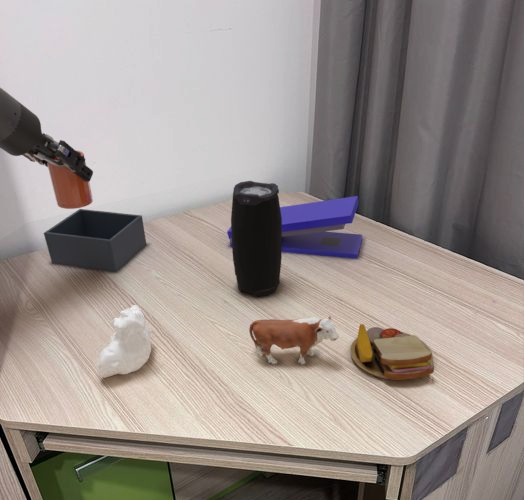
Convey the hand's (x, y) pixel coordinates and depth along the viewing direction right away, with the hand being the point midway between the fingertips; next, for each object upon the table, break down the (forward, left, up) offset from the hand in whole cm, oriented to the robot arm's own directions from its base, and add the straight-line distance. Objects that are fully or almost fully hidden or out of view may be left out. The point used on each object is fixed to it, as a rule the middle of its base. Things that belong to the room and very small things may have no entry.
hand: (76, 173), depth 97 cm
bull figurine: (+45, -18, -20) cm, 53 cm away
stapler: (+35, +23, -20) cm, 47 cm away
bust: (+21, -26, -20) cm, 39 cm away
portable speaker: (+33, +2, -20) cm, 39 cm away
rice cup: (0, -2, -5) cm, 5 cm away
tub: (-4, +7, -20) cm, 22 cm away
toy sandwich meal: (+60, -14, -20) cm, 65 cm away
